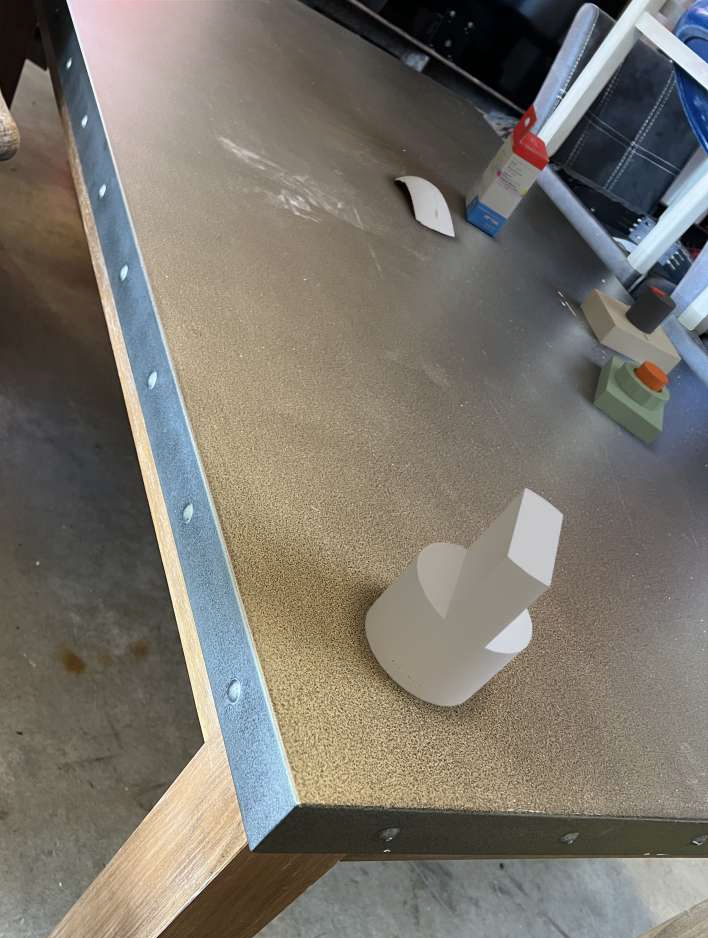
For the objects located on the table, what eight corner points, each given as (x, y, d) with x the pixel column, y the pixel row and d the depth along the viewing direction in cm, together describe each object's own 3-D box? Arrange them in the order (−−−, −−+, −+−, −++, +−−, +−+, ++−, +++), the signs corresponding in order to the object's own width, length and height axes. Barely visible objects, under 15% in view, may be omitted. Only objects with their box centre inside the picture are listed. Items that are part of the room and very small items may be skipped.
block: (601, 368, 120) (624, 343, 117) (652, 406, 120) (676, 382, 118) (592, 404, 111) (617, 377, 108) (648, 445, 111) (674, 420, 108)
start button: (634, 368, 114) (644, 356, 113) (658, 386, 115) (669, 375, 113) (632, 378, 112) (643, 367, 110) (657, 397, 112) (668, 386, 111)
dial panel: (643, 339, 136) (659, 321, 134) (665, 376, 130) (682, 358, 128) (579, 305, 132) (595, 287, 130) (599, 343, 126) (616, 323, 124)
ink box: (494, 239, 132) (566, 141, 123) (464, 220, 131) (535, 119, 122) (492, 216, 138) (560, 121, 129) (463, 198, 137) (530, 101, 128)
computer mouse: (417, 223, 120) (428, 207, 119) (388, 173, 127) (398, 158, 126) (458, 240, 124) (469, 225, 122) (427, 191, 131) (437, 176, 129)
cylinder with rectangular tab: (463, 730, 62) (592, 619, 54) (349, 651, 62) (464, 527, 54) (484, 649, 69) (601, 540, 61) (382, 577, 69) (487, 458, 61)
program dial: (644, 320, 132) (671, 291, 128) (655, 338, 129) (682, 309, 126) (621, 307, 130) (647, 278, 127) (631, 326, 127) (658, 296, 124)
